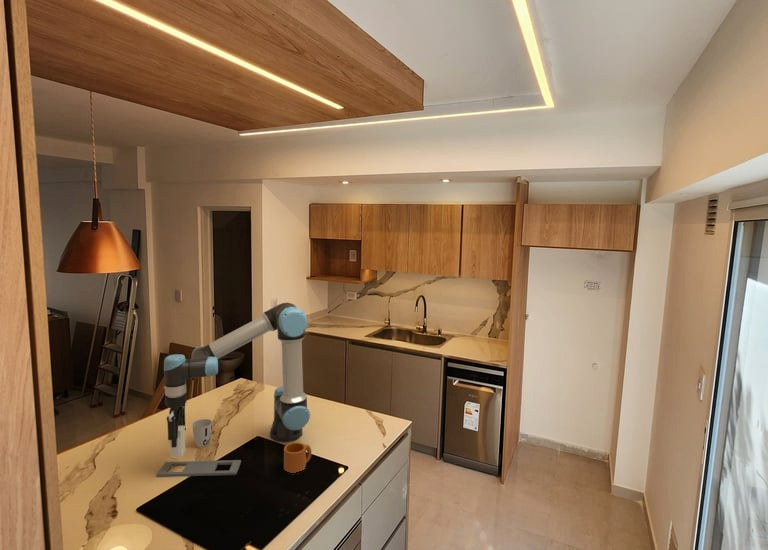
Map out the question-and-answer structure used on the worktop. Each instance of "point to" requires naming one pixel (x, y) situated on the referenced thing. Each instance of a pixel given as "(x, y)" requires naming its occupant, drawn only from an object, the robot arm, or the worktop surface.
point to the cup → (202, 432)
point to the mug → (296, 457)
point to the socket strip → (199, 468)
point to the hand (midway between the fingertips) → (177, 450)
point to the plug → (180, 442)
